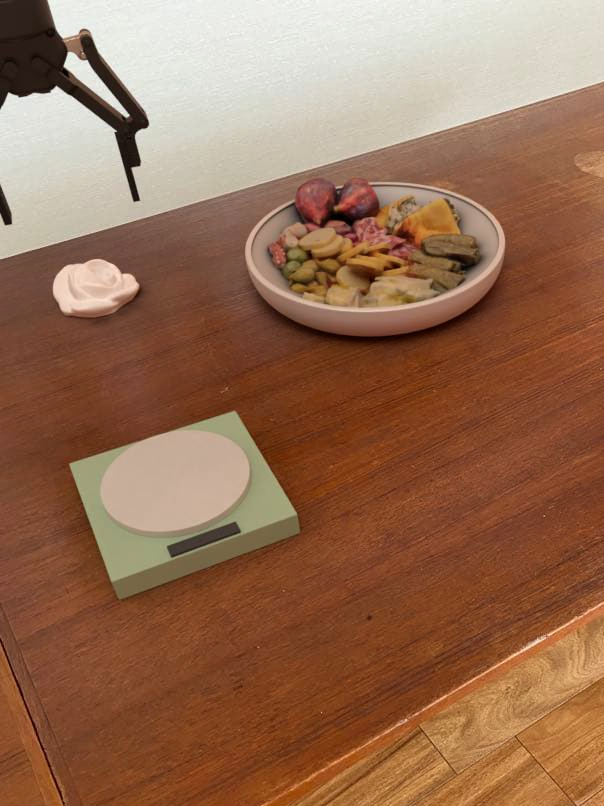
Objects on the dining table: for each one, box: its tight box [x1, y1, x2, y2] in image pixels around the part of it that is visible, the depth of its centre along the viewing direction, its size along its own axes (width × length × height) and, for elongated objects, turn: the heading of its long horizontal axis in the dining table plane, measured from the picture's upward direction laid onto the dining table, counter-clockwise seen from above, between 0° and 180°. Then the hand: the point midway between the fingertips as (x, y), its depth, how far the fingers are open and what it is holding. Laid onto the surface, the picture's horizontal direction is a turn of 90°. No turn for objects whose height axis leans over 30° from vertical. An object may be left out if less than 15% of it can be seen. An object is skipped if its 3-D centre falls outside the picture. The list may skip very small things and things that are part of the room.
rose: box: [52, 258, 140, 318], centre depth 101 cm, size 10×4×10 cm
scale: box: [68, 410, 301, 601], centre depth 77 cm, size 16×16×3 cm
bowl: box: [244, 177, 506, 337], centre depth 101 cm, size 30×30×8 cm
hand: (72, 208), depth 94 cm, fingers open, 13 cm apart
